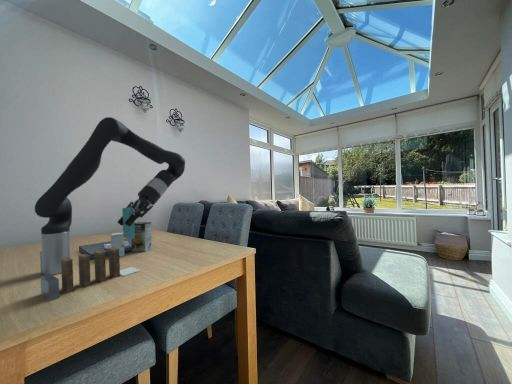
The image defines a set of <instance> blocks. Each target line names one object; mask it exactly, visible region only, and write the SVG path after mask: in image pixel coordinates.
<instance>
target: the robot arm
mask: <svg viewBox="0 0 512 384" xmlns="http://www.w3.org/2000/svg"><path fill="white" fill-rule="evenodd" d="M91 133H92V134H91V135H90V137H88V139H87V141H86V143H84V145H83V146H82V147H81V149H80V150H79V152H78V153H77V154H76V156H74V158H73V159H72V160H71V161H70V162H69V164H68V165H67V166H66V168H65V169H64V171H63V172H62V173H61V174H60V176H58V178H57V180H55V181H54V183H53V184H52V185H51V186H50V187H49V188H48V189H47V190H46V191H45V192H44V193H43V194H42V195H41V196H40V197H39V199H37V201H36V203H35V205H34V212H35V214H36V215H37V216H38V217H40V218H43V219H46V218H48V222H47V223H46V224H45V225H43V226H41V229H40V230H41V231H40V232H41V234H40V235H41V251H39V261H40V262H39V263H40V274H41V275H42V276H45V275H49V274H51V275H53V276H54V275H58V274H62V272H61V259H62V258H67V257H68V258H70V259H72V258H71V256H72V255H71V231H70V230H71V229H70V227H71V225H72V221H73V220H72V219H73V218H72V217H73V205H72V202H71V200H70V199H69V198H68V197H69V195H70V194H71V193H72V192H74V191H75V190H77V189H79V188H80V187H82V186H83V185H84V184H86V183H87V182H88V181H89V180H91V178H92V177H93V176H94V175H95V174H96V173H97V171H98V170H99V168H100V166H101V165H100V164H101V161H102V155H103V152H104V151H105V149H106V147H107V146H108V145H109V144H110V142H111V141H112V142H115V143H119V144H122V145H124V146H128V147H130V148H132V149H133V150H135V151H137V152H138V153H139V154H141V155H142V156H144V157H145V158H147V159H149V160H151V161H153V162H154V163H156V164H158V165H162V164H164V163H166V164H167V165H168V167H167V168H166V169H162V170H159V171H158V172H157V174H156V175H155V176H153V178H152V179H150V180H149V181H147V183H146V184H145V185H144V186H143V187H142V189H140V190H139V192H138V193H137V196H138V199H136V200H135V201H130V202H129V203H128V205H126V207H125V208H134V212H133V214H132V215H131V216H130V217H129V218H128V219H127V220H126V221H125V224H126V225H127V226H131V225H132V224H133V222H134V223H135V221H136V220H137V219H139V218H141V219H142V218H143V217H144V216H145V215H146V214H147V213H148V212H149V211H150V210H152V208H153V207H154V206H155V204H156V203H158V201H159V200H160V199H161V198H162V196H163V195H164V194H165V192H166V191H167V190H168V189H169V187H170V186H171V185H172V184H173V182H175V181H176V180H178V179H179V178H180V177H181V176H182V175H183V174H184V172H185V168H186V160H185V157H183V156H182V155H181V154H180V153H177V152H173V151H171V150H167V149H164V148H162V147H160V146H159V145H157V144H155V143H154V142H151V141H150V140H146V139H145V138H143V137H141V136H139V135H138V134H136V133H134V132H133V131H132V130H131V129H130V128H129V127H127V126H126V125H125V124H124V123H123V122H121V121H119V120H118V119H116V118H115V117H111V116H110V117H108V116H106V117H104V118H103V119H101V120H100V121H99V122H98V123H97V125H96V126H95V128H94V130H93V132H91ZM117 224H119V225H120V226H123V215H122V216H121V217H120V218H119V220H117Z"/></svg>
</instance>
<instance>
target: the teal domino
mask: <svg viewBox="0 0 512 384" xmlns="http://www.w3.org/2000/svg"><path fill="white" fill-rule="evenodd" d="M121 210H122V216H123V225H122V233H123V237H124V239H125V238H126V239H131V238H135V226H134V223H135V221H134V222H133V224H132V225H131V226H127V225H126V224H125V221H126V220H127V219H128V218H129V217H130V216H131V215H132V214H133V212H134V211H135V210H134V208H126V207H122V209H121Z"/></svg>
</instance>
